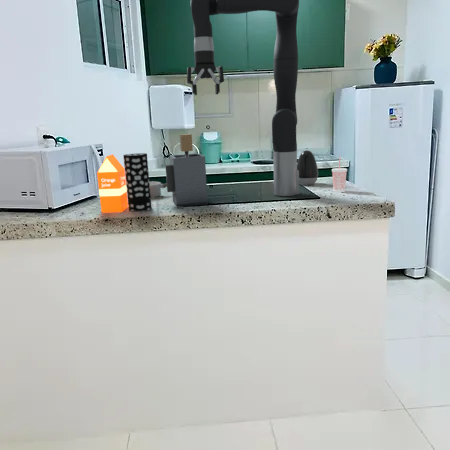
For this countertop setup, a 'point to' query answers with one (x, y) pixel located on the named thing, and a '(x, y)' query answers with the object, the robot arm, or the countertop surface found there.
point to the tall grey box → (187, 180)
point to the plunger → (186, 143)
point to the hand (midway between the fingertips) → (206, 94)
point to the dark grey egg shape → (307, 168)
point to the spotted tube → (137, 182)
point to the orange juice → (112, 186)
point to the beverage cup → (339, 178)
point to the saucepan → (156, 188)
